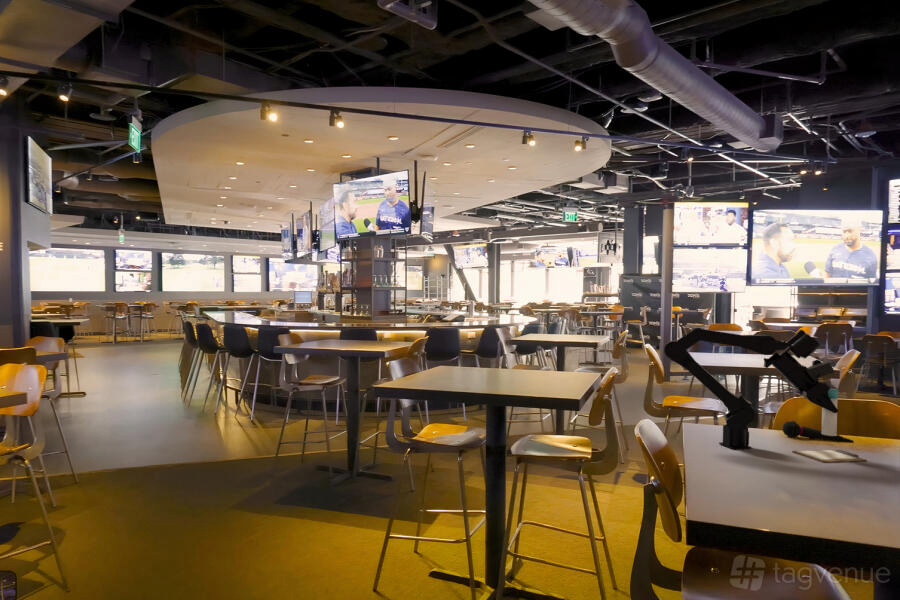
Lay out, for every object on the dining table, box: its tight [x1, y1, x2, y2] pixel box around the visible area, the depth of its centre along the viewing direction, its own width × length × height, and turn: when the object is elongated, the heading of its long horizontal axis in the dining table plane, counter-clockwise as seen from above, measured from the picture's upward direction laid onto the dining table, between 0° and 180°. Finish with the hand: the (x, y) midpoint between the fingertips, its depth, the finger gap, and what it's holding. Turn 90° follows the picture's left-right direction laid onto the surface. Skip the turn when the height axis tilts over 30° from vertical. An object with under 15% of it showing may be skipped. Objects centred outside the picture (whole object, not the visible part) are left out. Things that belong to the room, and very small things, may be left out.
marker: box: [820, 387, 839, 436], centre depth 162 cm, size 4×4×13 cm
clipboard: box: [791, 449, 868, 464], centre depth 162 cm, size 14×11×1 cm
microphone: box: [782, 420, 854, 443], centre depth 184 cm, size 6×6×20 cm
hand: (835, 411), depth 161 cm, fingers closed on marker, 4 cm apart
